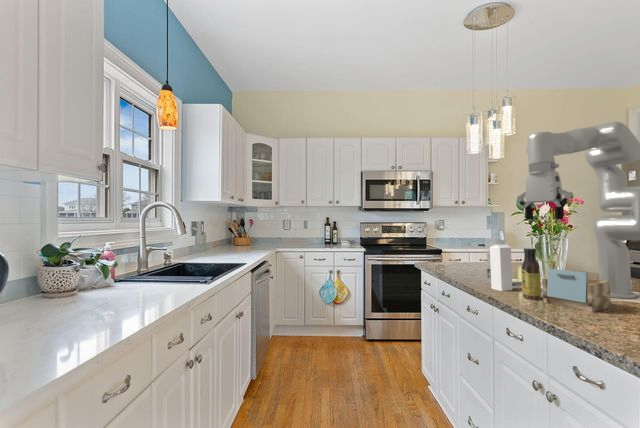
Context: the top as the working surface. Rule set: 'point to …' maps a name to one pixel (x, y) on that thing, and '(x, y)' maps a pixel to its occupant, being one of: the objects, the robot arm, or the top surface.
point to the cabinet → (595, 296)
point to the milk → (501, 266)
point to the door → (567, 285)
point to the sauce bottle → (531, 275)
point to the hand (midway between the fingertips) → (543, 219)
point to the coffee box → (488, 267)
